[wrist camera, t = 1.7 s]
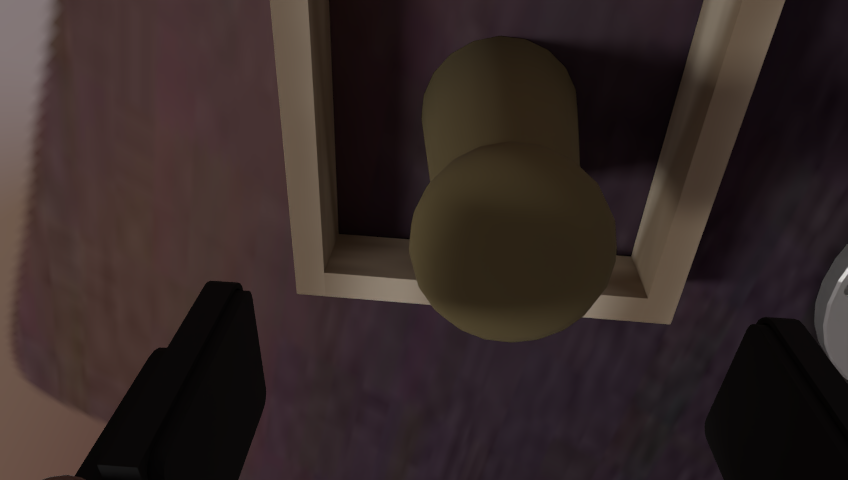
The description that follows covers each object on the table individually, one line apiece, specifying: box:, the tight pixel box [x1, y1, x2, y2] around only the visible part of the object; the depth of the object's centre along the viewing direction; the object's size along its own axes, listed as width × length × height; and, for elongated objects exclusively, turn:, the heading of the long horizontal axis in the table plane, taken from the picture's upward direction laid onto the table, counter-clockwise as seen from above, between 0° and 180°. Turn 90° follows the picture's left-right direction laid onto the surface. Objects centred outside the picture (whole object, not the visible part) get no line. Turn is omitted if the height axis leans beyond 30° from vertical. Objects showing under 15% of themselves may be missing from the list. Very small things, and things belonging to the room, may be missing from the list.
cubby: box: [270, 0, 785, 324], centre depth 22 cm, size 15×13×3 cm
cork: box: [409, 36, 617, 342], centre depth 18 cm, size 6×6×11 cm
